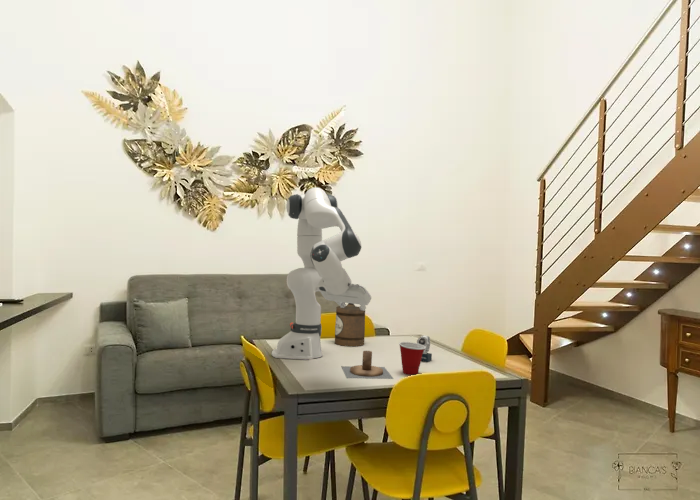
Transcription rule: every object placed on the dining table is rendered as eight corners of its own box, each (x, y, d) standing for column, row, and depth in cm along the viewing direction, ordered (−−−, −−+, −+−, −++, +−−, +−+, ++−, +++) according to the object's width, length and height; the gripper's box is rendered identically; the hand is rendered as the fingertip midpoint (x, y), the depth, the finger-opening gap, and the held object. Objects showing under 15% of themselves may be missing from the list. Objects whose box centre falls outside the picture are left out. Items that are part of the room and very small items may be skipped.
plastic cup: (423, 378, 208) (425, 347, 208) (395, 375, 210) (397, 345, 210) (425, 372, 219) (426, 342, 218) (398, 369, 221) (400, 340, 220)
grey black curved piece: (414, 360, 238) (415, 336, 238) (421, 357, 245) (422, 333, 244) (425, 363, 235) (427, 338, 235) (433, 359, 242) (434, 335, 241)
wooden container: (335, 340, 277) (337, 297, 277) (364, 341, 277) (366, 299, 276) (333, 345, 262) (335, 300, 262) (363, 347, 262) (366, 302, 261)
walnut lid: (352, 376, 205) (353, 355, 204) (347, 367, 217) (348, 347, 217) (386, 376, 206) (387, 355, 206) (379, 368, 219) (380, 348, 219)
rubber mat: (346, 379, 202) (346, 378, 202) (341, 367, 220) (341, 366, 220) (393, 379, 204) (393, 378, 204) (384, 367, 222) (384, 367, 222)
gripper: (365, 278, 190) (380, 304, 198) (321, 274, 202) (336, 298, 210) (357, 292, 187) (372, 317, 195) (313, 286, 199) (328, 311, 207)
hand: (353, 307), depth 203 cm, fingers open, 8 cm apart
